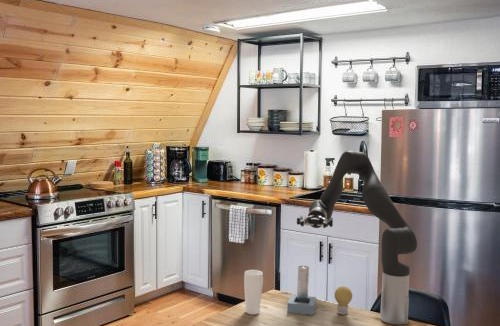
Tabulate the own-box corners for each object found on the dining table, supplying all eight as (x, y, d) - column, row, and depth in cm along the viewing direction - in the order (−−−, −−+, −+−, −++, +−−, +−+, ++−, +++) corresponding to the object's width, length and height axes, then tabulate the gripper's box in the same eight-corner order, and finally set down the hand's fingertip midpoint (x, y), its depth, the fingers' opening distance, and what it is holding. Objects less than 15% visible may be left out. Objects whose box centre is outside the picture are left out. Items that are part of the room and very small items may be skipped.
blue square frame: (316, 306, 198) (316, 297, 198) (313, 315, 189) (313, 305, 188) (291, 303, 200) (291, 294, 200) (287, 312, 191) (287, 303, 191)
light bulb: (350, 310, 194) (351, 284, 193) (352, 317, 188) (353, 290, 187) (333, 309, 195) (334, 283, 194) (334, 316, 188) (335, 289, 187)
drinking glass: (241, 314, 187) (242, 274, 186) (245, 308, 194) (246, 268, 193) (259, 316, 186) (260, 275, 185) (263, 310, 193) (264, 270, 191)
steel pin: (307, 307, 196) (309, 266, 195) (306, 311, 192) (308, 269, 191) (297, 306, 197) (298, 265, 196) (295, 310, 193) (297, 268, 192)
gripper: (300, 207, 219) (295, 213, 203) (334, 209, 216) (332, 216, 200) (300, 224, 220) (294, 232, 204) (334, 227, 217) (331, 235, 201)
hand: (313, 224), depth 202 cm, fingers open, 8 cm apart
